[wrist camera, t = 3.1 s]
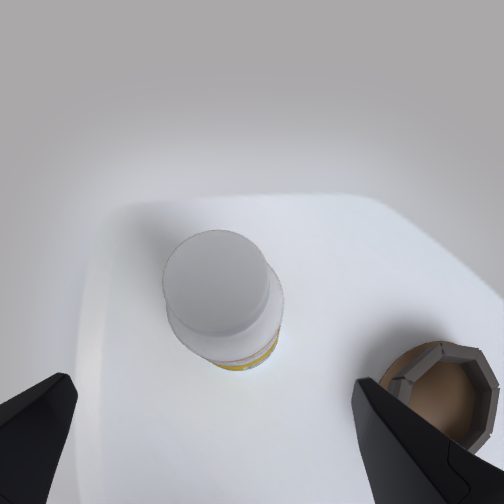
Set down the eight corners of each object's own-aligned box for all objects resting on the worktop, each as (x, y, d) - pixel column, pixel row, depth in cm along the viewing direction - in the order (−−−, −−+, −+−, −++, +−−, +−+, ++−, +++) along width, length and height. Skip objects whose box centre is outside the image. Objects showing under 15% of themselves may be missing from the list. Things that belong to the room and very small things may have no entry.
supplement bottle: (207, 286, 21) (168, 206, 12) (284, 300, 20) (298, 223, 12) (189, 361, 19) (125, 330, 10) (270, 378, 18) (274, 364, 9)
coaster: (407, 501, 13) (423, 510, 11) (342, 399, 17) (353, 399, 15) (498, 411, 15) (518, 409, 12) (445, 316, 19) (463, 306, 17)
